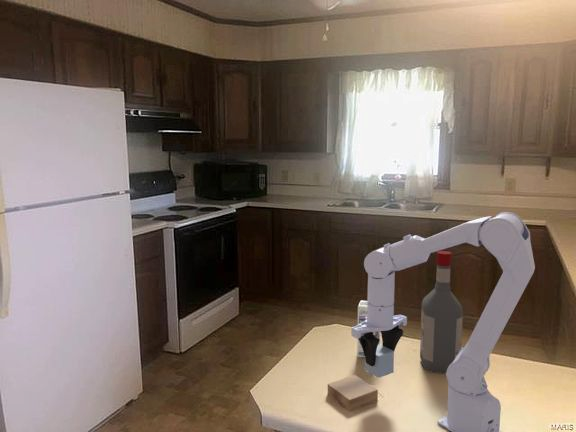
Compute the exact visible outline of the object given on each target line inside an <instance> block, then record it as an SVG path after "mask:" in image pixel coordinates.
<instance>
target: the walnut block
mask: <svg viewBox="0 0 576 432" xmlns="http://www.w3.org/2000/svg"><path fill="white" fill-rule="evenodd" d="M378 392H379V390H378V389H377V388H376V387H375V386H373V385H371V384H370V383H368V382H367V381H365V380H363V378H360V377H359V376H357V375H356V374H354V375H351V376H348V377H344V378H341V379H339V380H336V381H332V382H329V383H327V395H328V396H329V397H330V398H331V399H333V400H334V401H335V402H337V403H338V404H340V405H341V406H342V407H343V408H345V409H346V410H347V411H349V412H351V411H354V410H358V409H359V408H362V407H364V406H368V405H369V404H372V403H376V402H378V397H379V393H378Z"/></svg>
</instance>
